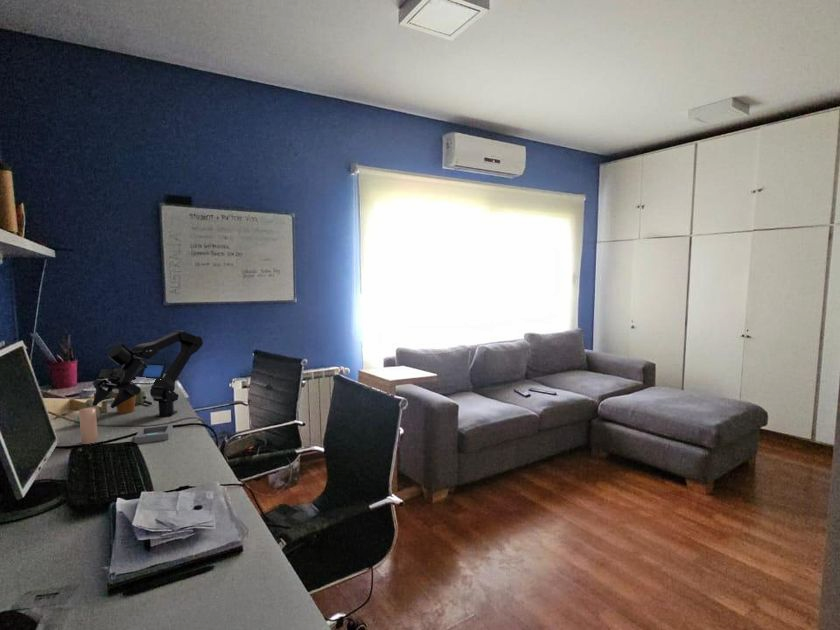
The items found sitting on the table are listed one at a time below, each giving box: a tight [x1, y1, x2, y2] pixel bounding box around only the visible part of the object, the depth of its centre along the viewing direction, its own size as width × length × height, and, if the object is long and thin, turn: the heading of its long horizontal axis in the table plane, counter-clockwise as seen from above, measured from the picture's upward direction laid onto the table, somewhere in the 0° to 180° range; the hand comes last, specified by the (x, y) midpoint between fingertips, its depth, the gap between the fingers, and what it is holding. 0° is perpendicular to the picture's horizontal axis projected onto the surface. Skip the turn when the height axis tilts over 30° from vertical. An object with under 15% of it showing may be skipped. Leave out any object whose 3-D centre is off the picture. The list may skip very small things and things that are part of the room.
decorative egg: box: [82, 399, 101, 421], centre depth 175 cm, size 6×6×10 cm
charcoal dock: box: [134, 423, 174, 444], centre depth 160 cm, size 11×11×3 cm
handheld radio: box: [135, 389, 153, 406], centre depth 205 cm, size 7×3×25 cm
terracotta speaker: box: [78, 407, 99, 445], centre depth 154 cm, size 5×5×12 cm
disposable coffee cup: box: [111, 383, 136, 415], centre depth 189 cm, size 10×10×12 cm
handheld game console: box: [137, 362, 168, 380], centre depth 245 cm, size 16×13×9 cm
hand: (102, 406), depth 159 cm, fingers open, 9 cm apart
